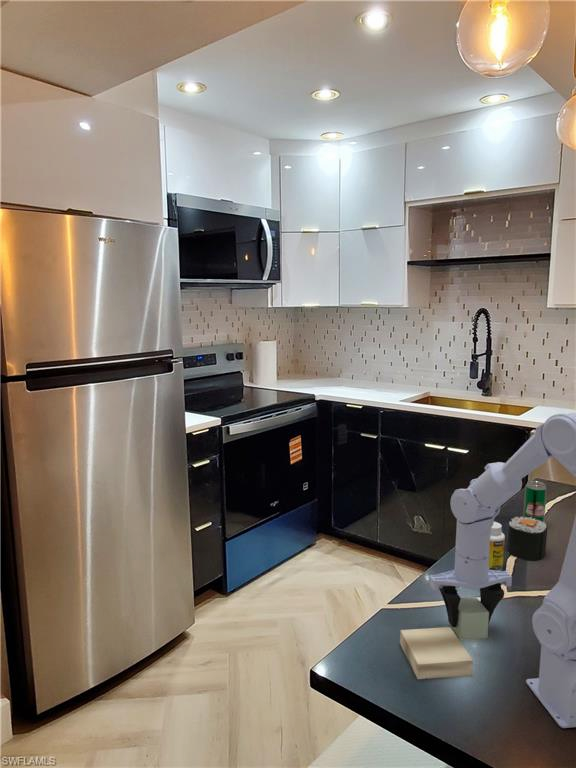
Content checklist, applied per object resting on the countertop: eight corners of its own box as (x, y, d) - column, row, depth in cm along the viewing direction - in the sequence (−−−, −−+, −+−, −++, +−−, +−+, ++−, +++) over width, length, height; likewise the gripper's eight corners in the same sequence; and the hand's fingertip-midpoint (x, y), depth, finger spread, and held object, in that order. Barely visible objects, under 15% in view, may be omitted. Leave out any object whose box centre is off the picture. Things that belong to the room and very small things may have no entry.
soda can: (524, 529, 141) (527, 485, 139) (521, 521, 146) (524, 479, 144) (545, 531, 140) (548, 487, 138) (542, 523, 145) (545, 481, 143)
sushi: (548, 551, 129) (551, 519, 127) (538, 564, 122) (541, 531, 121) (513, 541, 134) (515, 511, 133) (502, 553, 127) (504, 521, 126)
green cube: (487, 638, 96) (488, 612, 95) (460, 640, 95) (461, 614, 94) (474, 621, 101) (476, 597, 100) (449, 623, 100) (450, 598, 99)
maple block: (471, 677, 86) (472, 660, 86) (417, 681, 85) (418, 664, 85) (449, 642, 95) (450, 626, 95) (400, 645, 94) (400, 630, 94)
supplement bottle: (492, 576, 117) (495, 531, 116) (471, 565, 122) (473, 522, 120) (508, 569, 120) (510, 525, 119) (486, 559, 125) (489, 517, 123)
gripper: (499, 541, 100) (495, 608, 102) (424, 544, 99) (422, 612, 101) (519, 558, 93) (514, 630, 95) (439, 562, 92) (436, 635, 94)
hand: (468, 622), depth 98 cm, fingers open, 5 cm apart
